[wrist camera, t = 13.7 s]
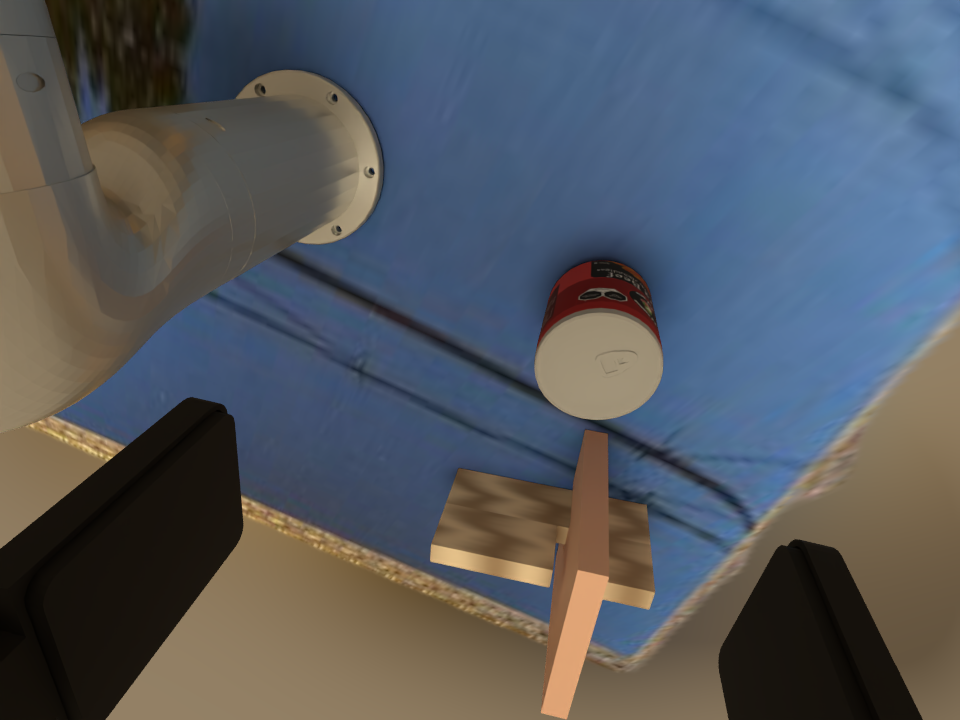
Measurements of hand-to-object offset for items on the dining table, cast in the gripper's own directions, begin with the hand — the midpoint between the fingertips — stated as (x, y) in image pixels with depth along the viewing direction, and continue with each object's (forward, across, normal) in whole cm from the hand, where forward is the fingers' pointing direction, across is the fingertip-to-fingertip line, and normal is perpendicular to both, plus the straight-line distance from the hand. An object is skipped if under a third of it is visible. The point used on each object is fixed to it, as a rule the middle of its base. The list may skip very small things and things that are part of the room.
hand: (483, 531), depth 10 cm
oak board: (+35, -4, +29) cm, 46 cm away
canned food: (+36, -4, +9) cm, 37 cm away
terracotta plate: (+35, -7, +29) cm, 46 cm away
